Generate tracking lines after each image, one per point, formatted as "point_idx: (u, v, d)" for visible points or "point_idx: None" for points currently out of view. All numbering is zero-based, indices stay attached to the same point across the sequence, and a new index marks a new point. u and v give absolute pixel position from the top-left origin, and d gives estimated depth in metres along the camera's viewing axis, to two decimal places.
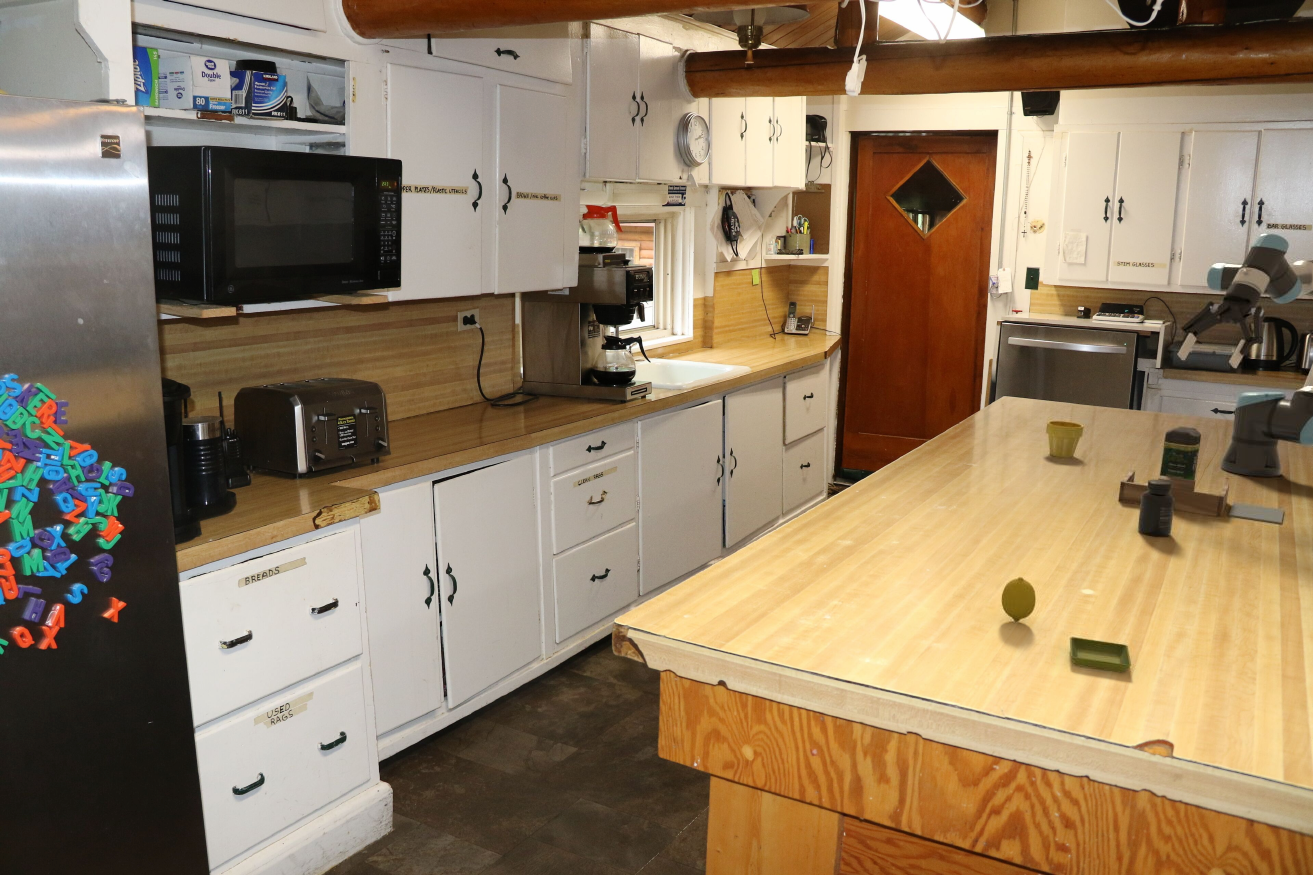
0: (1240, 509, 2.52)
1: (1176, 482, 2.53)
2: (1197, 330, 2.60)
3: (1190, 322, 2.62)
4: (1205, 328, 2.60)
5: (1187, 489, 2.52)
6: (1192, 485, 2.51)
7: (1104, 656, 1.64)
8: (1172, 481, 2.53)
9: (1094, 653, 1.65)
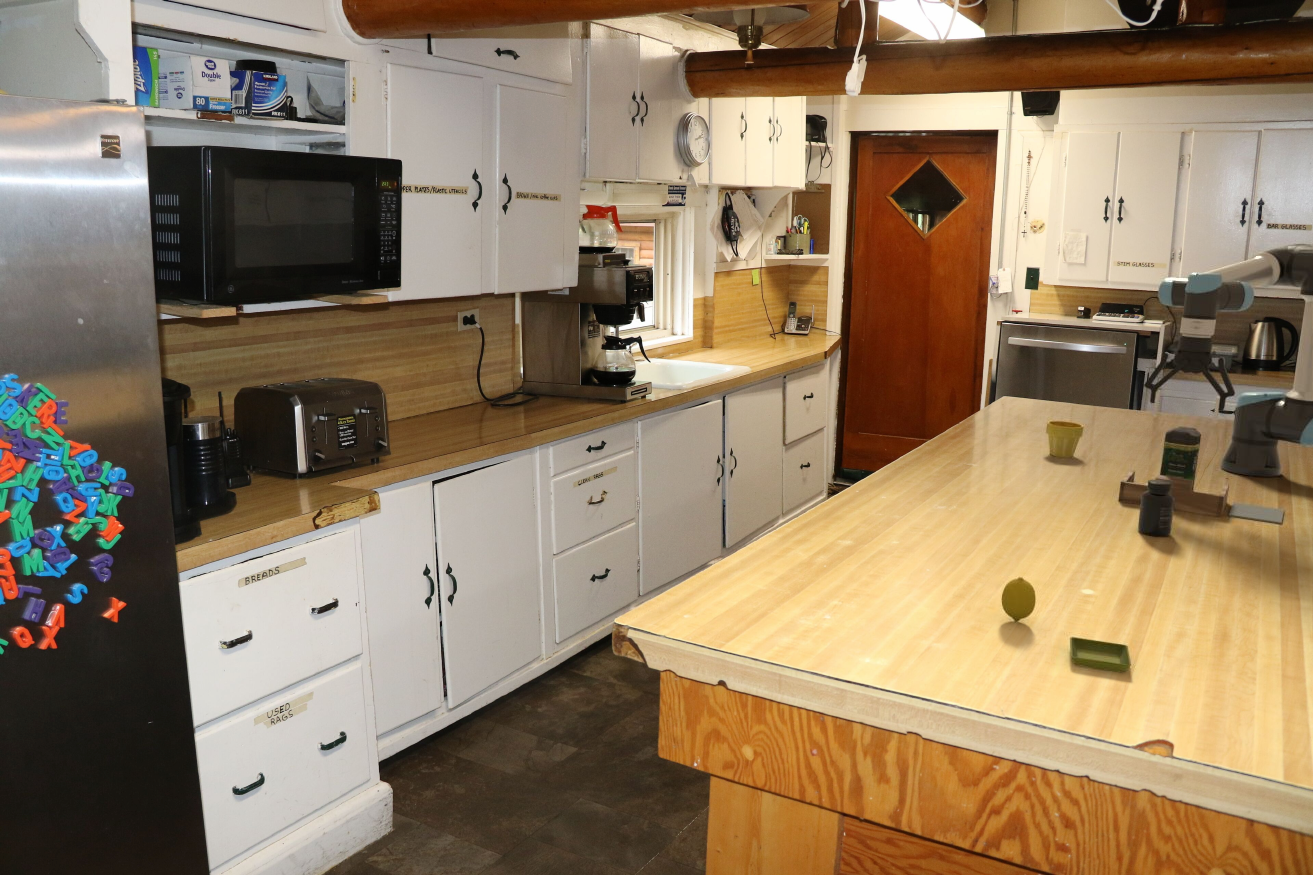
0: (1240, 509, 2.52)
1: (1173, 482, 2.53)
2: (1161, 385, 2.60)
3: (1152, 378, 2.60)
4: None
5: (1184, 489, 2.52)
6: (1189, 485, 2.51)
7: (1104, 656, 1.64)
8: (1169, 481, 2.54)
9: (1094, 653, 1.65)
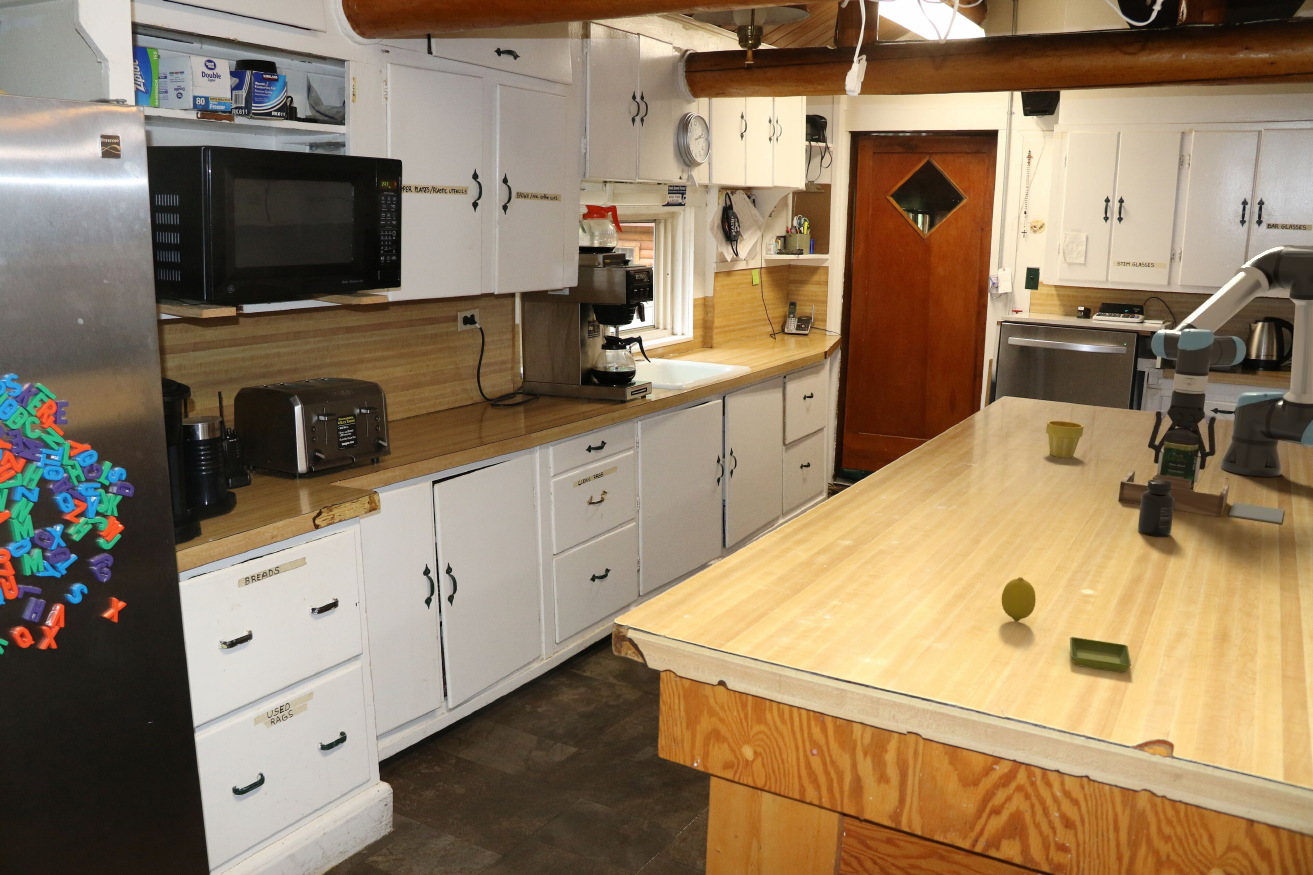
0: (1240, 509, 2.52)
1: (1170, 481, 2.53)
2: (1163, 444, 2.62)
3: (1153, 438, 2.62)
4: None
5: (1181, 488, 2.52)
6: (1186, 484, 2.51)
7: (1104, 656, 1.64)
8: (1166, 480, 2.54)
9: (1094, 653, 1.65)
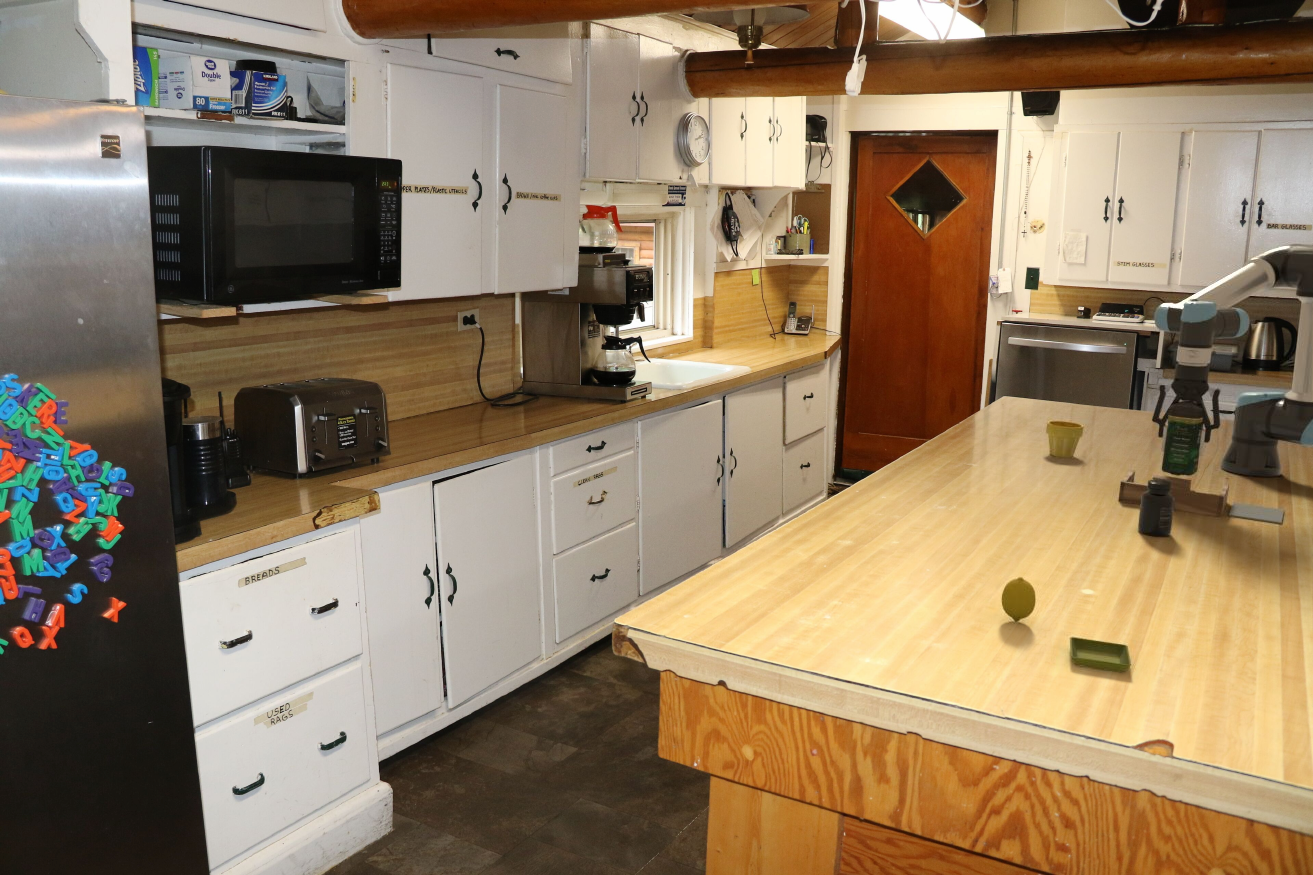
0: (1240, 509, 2.52)
1: (1170, 481, 2.53)
2: None
3: (1157, 412, 2.61)
4: None
5: (1181, 488, 2.52)
6: (1186, 484, 2.51)
7: (1104, 656, 1.64)
8: (1166, 480, 2.54)
9: (1094, 653, 1.65)
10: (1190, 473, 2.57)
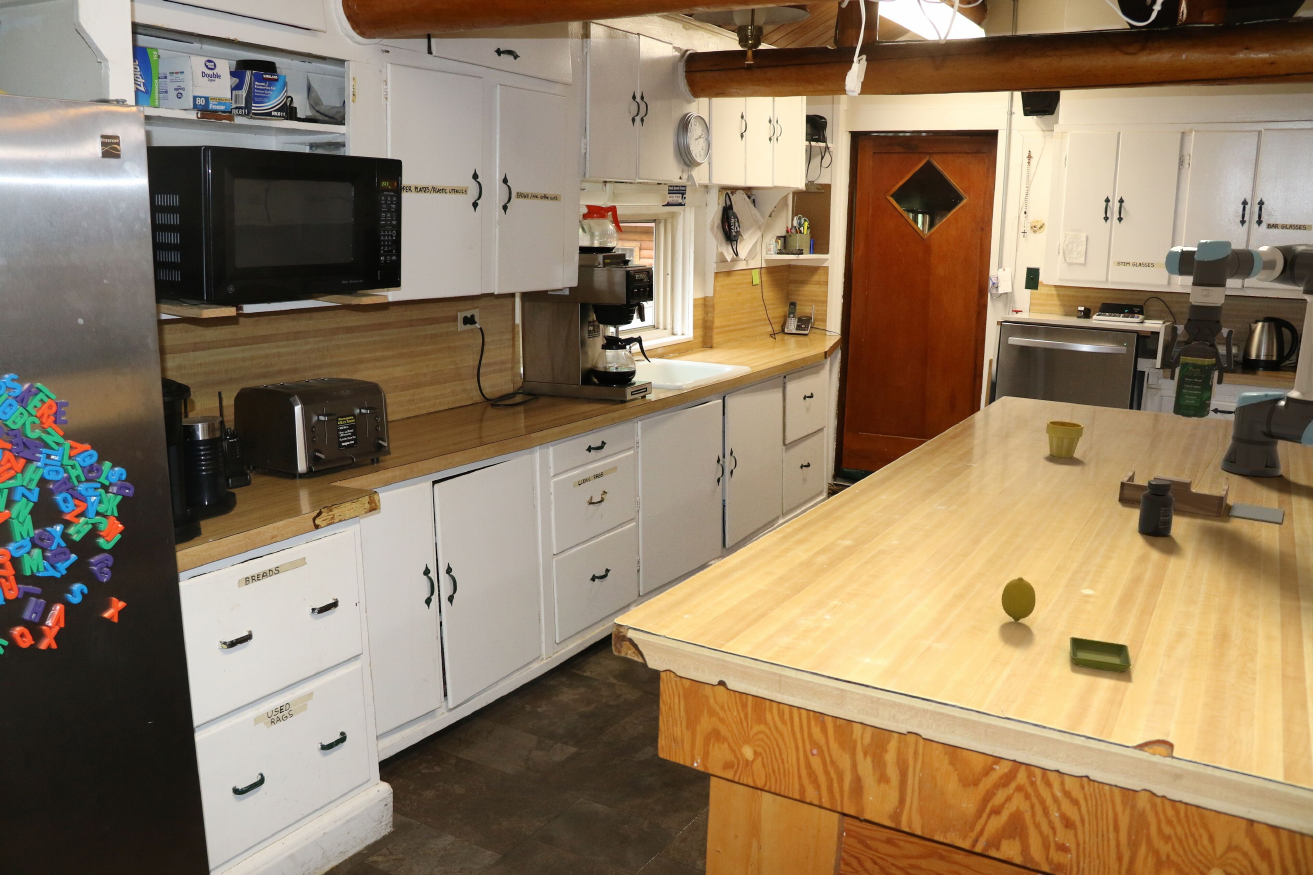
0: (1240, 509, 2.52)
1: (1171, 481, 2.53)
2: None
3: (1169, 354, 2.57)
4: None
5: (1182, 488, 2.52)
6: (1187, 484, 2.51)
7: (1104, 656, 1.64)
8: (1167, 480, 2.54)
9: (1094, 653, 1.65)
10: (1202, 415, 2.53)
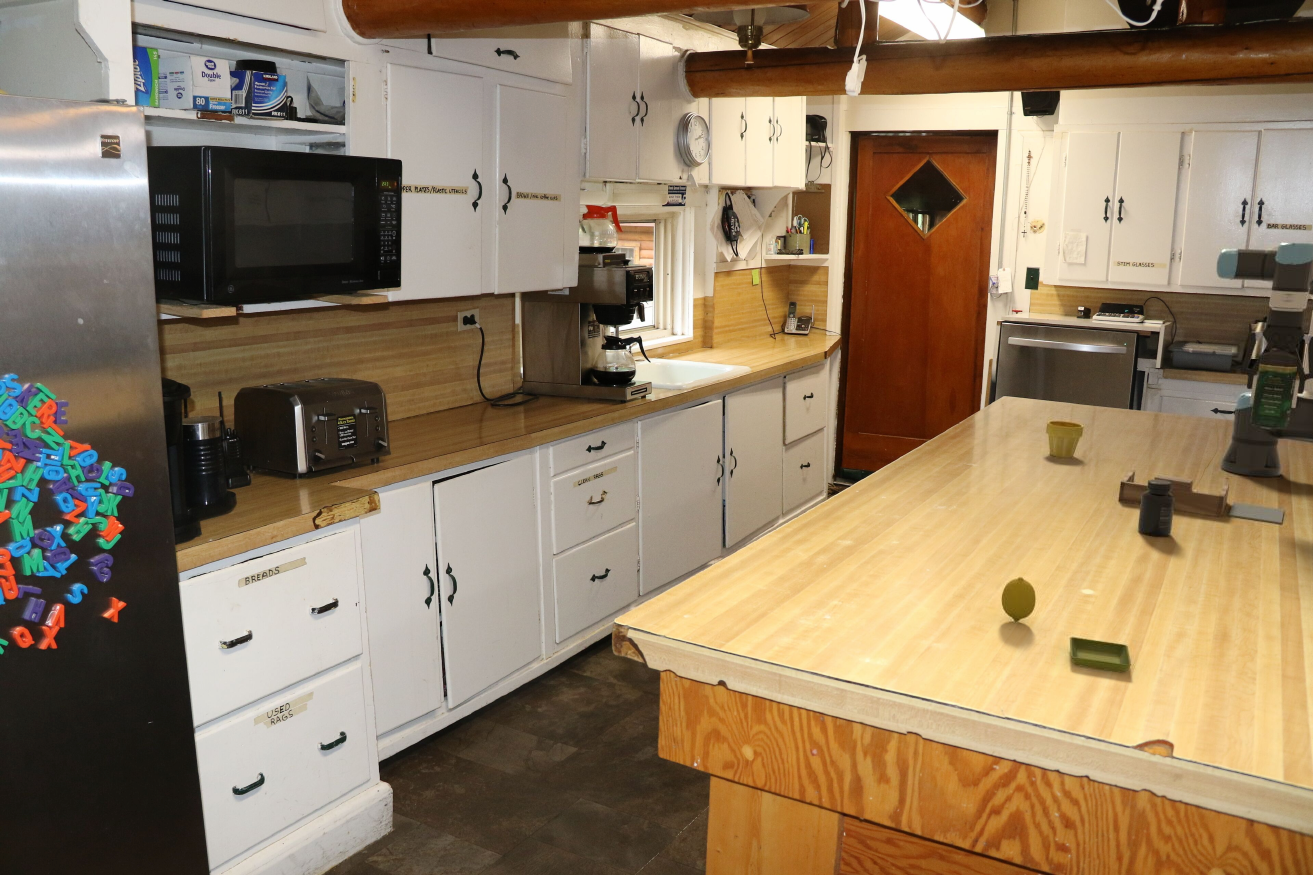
0: (1240, 509, 2.52)
1: (1172, 481, 2.53)
2: None
3: (1246, 362, 2.45)
4: None
5: (1183, 488, 2.52)
6: (1188, 484, 2.51)
7: (1104, 656, 1.64)
8: (1168, 480, 2.54)
9: (1094, 653, 1.65)
10: (1282, 426, 2.41)
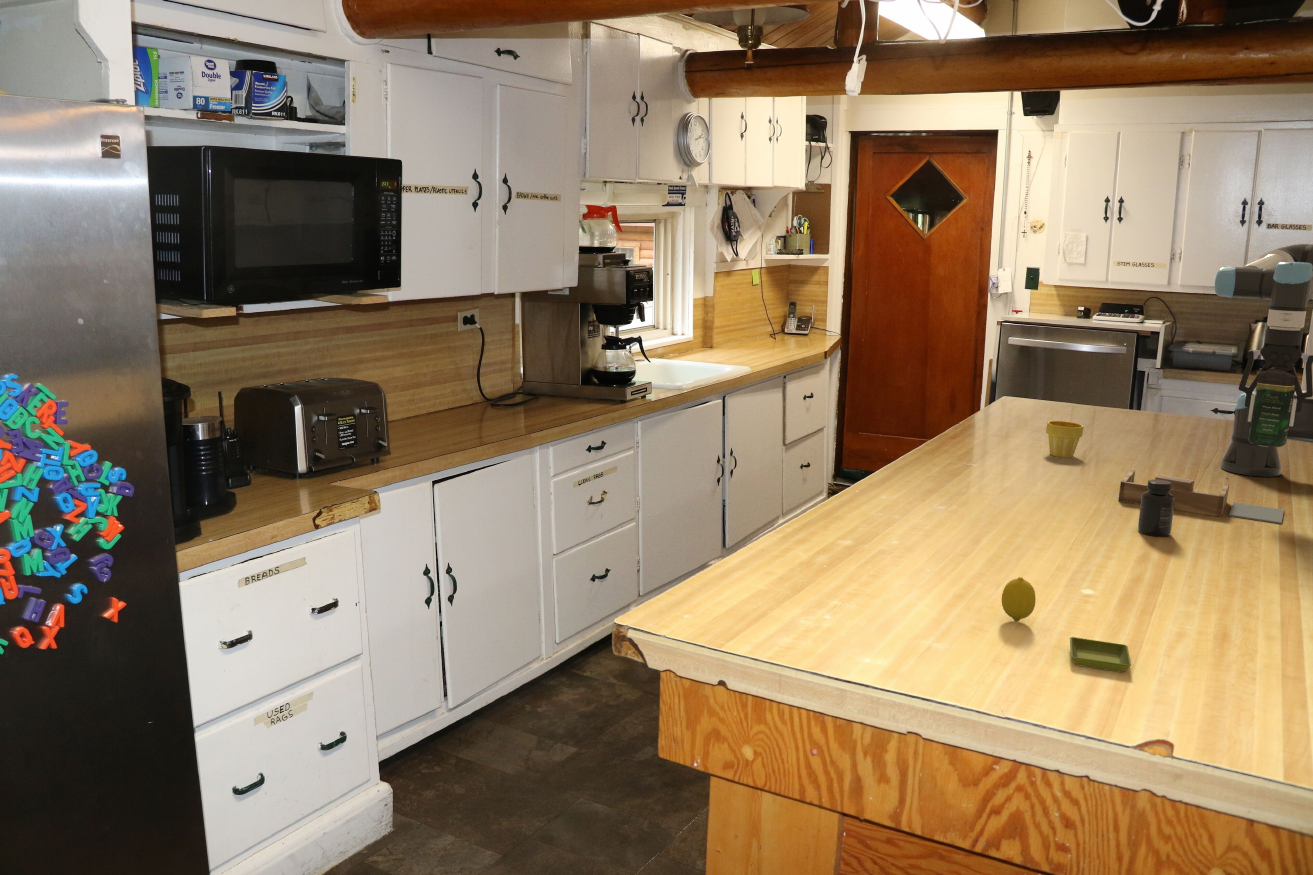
0: (1240, 509, 2.52)
1: (1172, 481, 2.53)
2: None
3: (1244, 380, 2.46)
4: None
5: (1183, 488, 2.52)
6: (1188, 484, 2.51)
7: (1104, 656, 1.64)
8: (1168, 480, 2.54)
9: (1094, 653, 1.65)
10: (1280, 444, 2.42)
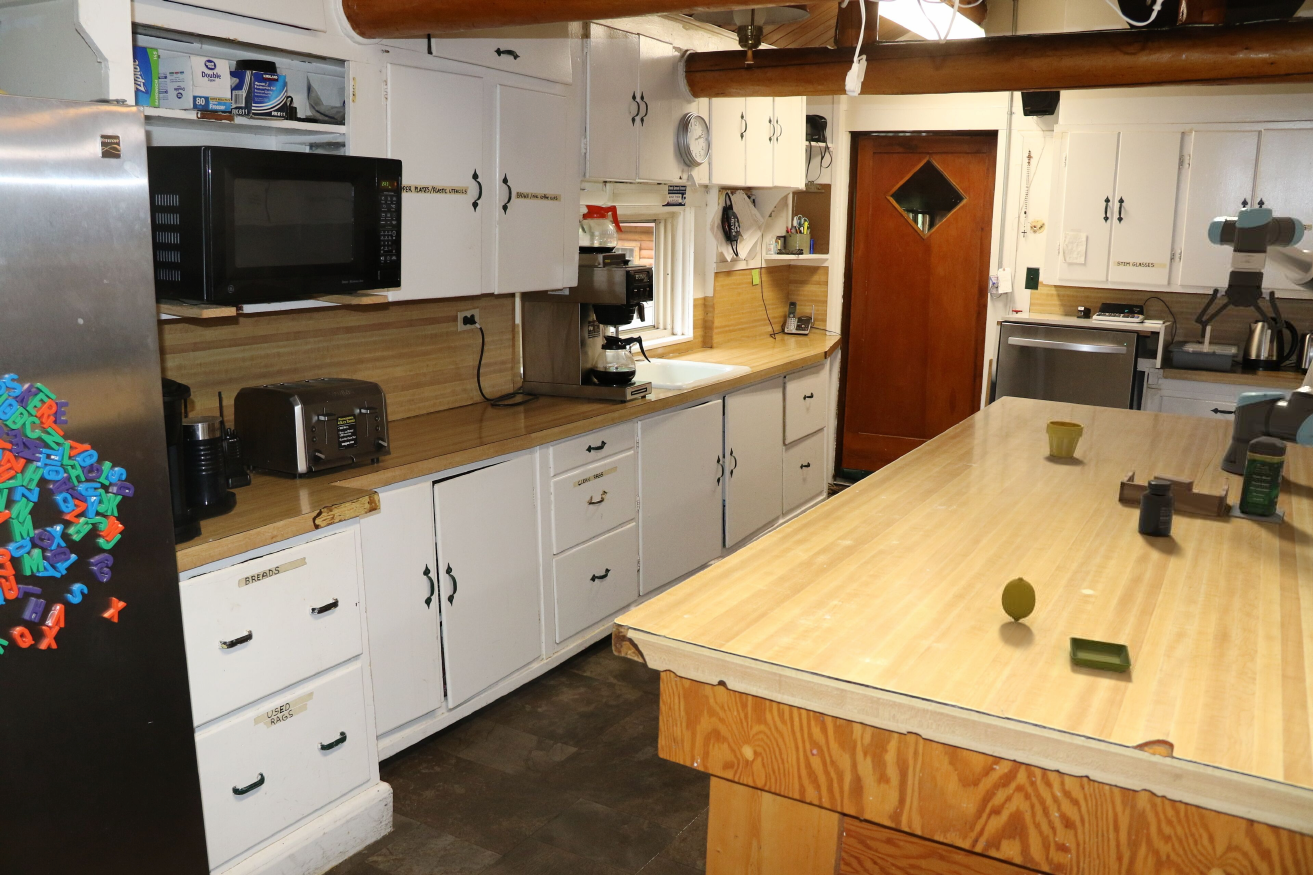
0: None
1: (1170, 480, 2.54)
2: None
3: (1202, 314, 2.65)
4: None
5: (1180, 488, 2.52)
6: (1185, 484, 2.51)
7: (1103, 656, 1.64)
8: (1167, 479, 2.54)
9: (1094, 653, 1.65)
10: (1270, 513, 2.46)
